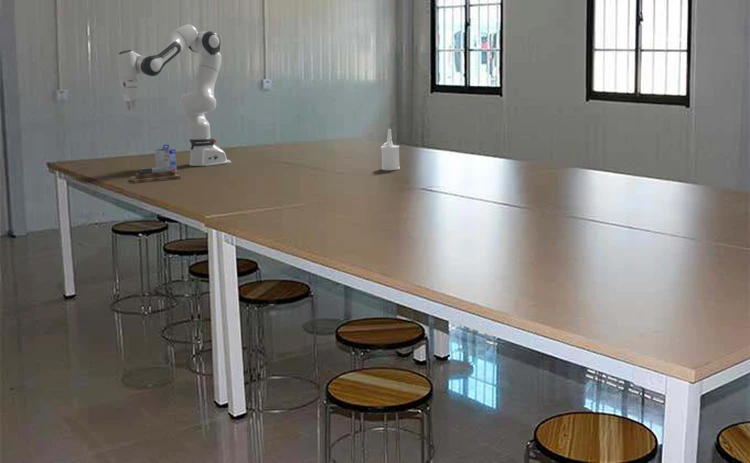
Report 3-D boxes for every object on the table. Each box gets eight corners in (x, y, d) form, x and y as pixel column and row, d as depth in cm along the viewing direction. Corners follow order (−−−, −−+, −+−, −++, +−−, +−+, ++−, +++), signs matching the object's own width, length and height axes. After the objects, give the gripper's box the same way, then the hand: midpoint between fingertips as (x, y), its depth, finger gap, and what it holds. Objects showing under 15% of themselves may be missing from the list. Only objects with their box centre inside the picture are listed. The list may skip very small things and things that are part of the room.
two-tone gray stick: (142, 178, 444) (141, 169, 443) (140, 177, 448) (140, 168, 447) (170, 175, 450) (170, 166, 449) (168, 174, 453) (168, 165, 453)
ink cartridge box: (177, 172, 470) (175, 144, 467) (170, 174, 465) (168, 145, 462) (163, 171, 475) (160, 144, 472) (155, 173, 470) (153, 145, 467)
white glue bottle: (403, 169, 453) (402, 129, 449) (387, 171, 449) (386, 130, 444) (392, 166, 462) (391, 127, 458) (376, 168, 457) (375, 129, 453)
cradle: (174, 175, 459) (174, 168, 458) (180, 178, 448) (180, 171, 448) (130, 179, 450) (130, 172, 449) (135, 183, 439) (135, 175, 438)
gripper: (118, 82, 468) (121, 109, 471) (126, 83, 450) (128, 111, 453) (130, 81, 471) (133, 108, 474) (139, 83, 453) (141, 110, 456)
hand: (131, 110), depth 463 cm, fingers open, 8 cm apart
